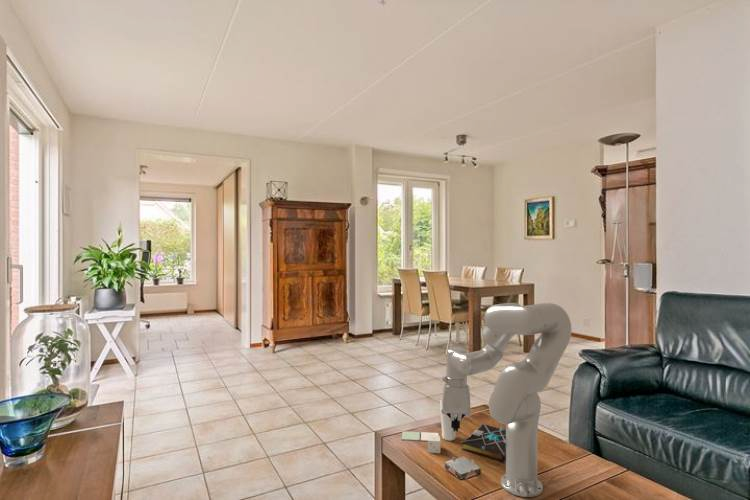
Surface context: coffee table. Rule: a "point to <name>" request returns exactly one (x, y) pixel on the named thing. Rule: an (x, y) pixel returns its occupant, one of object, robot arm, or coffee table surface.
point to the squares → (417, 436)
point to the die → (433, 444)
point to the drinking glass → (447, 426)
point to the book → (487, 442)
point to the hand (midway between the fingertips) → (455, 429)
